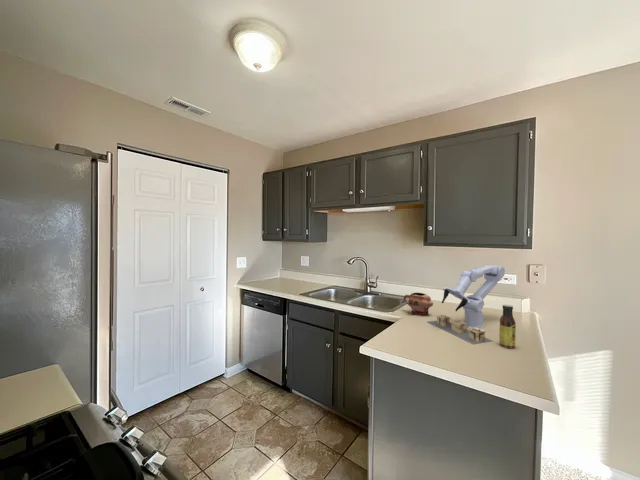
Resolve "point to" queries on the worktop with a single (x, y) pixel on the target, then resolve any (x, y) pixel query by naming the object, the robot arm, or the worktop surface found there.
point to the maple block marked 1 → (443, 320)
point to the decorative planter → (419, 303)
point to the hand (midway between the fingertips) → (449, 306)
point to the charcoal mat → (462, 335)
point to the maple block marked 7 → (476, 334)
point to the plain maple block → (458, 327)
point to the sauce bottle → (507, 328)
